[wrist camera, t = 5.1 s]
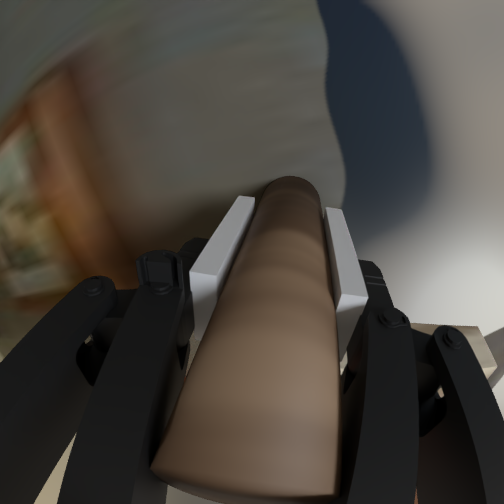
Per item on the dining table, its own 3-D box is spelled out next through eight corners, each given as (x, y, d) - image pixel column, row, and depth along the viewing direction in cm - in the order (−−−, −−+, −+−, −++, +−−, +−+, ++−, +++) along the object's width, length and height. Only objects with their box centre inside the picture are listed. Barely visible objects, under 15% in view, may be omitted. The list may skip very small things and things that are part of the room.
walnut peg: (263, 172, 16) (124, 444, 3) (324, 180, 15) (373, 483, 3) (259, 227, 18) (169, 489, 5) (315, 235, 17) (313, 513, 4)
